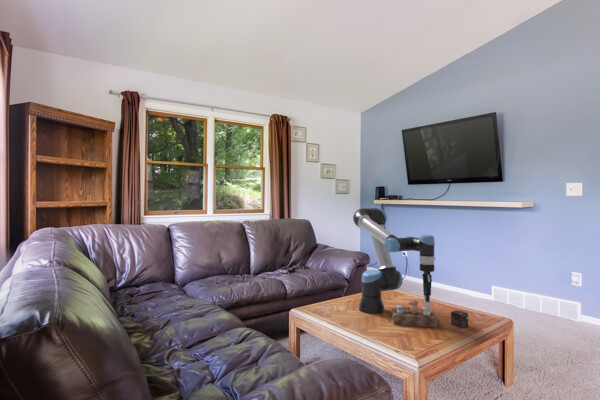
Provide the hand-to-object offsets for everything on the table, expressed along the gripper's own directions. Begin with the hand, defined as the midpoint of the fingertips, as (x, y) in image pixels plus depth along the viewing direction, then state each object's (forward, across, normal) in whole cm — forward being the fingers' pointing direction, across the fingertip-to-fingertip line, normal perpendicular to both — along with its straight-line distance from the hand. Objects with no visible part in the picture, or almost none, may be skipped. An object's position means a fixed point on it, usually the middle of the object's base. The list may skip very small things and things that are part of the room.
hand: (427, 307), depth 180 cm
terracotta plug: (+5, 0, +7) cm, 9 cm away
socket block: (+9, 0, +7) cm, 11 cm away
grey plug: (+8, 0, +14) cm, 16 cm away
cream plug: (+8, 0, 0) cm, 8 cm away
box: (+9, 0, -16) cm, 19 cm away
